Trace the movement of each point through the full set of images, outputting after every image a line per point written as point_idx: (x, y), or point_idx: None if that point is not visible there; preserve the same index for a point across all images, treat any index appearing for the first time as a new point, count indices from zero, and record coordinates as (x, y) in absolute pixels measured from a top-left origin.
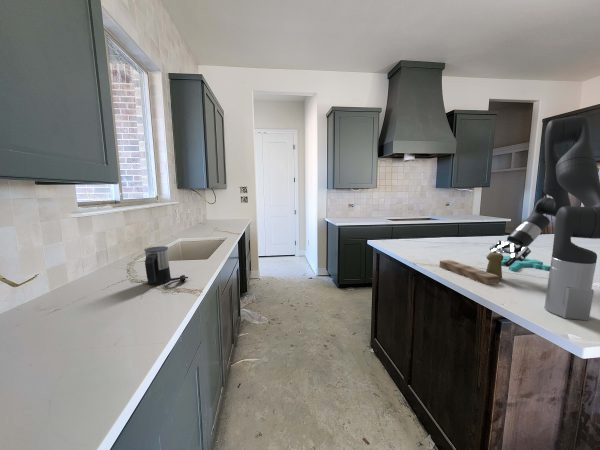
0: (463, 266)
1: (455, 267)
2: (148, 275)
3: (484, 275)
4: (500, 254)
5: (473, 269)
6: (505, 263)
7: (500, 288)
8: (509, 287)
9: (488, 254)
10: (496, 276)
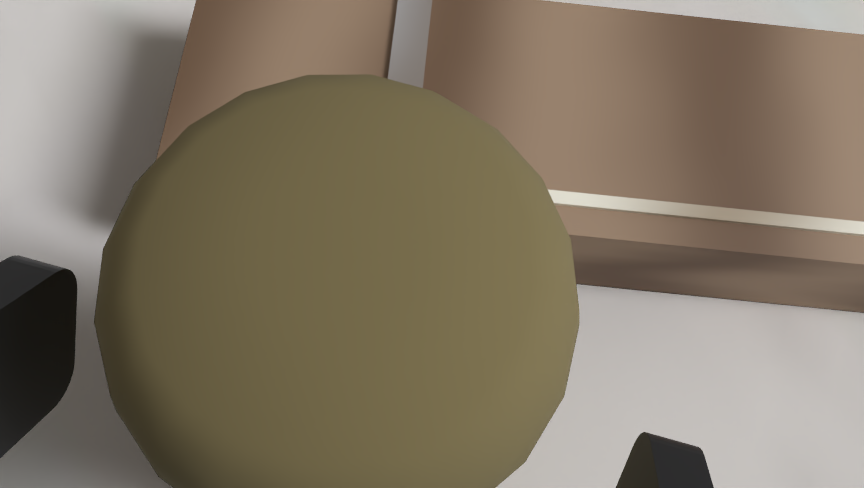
0: (793, 143)
1: (818, 42)
2: None
3: (297, 12)
4: (161, 284)
5: (593, 138)
6: (11, 257)
7: (68, 71)
8: (7, 214)
9: (541, 178)
10: (164, 128)
